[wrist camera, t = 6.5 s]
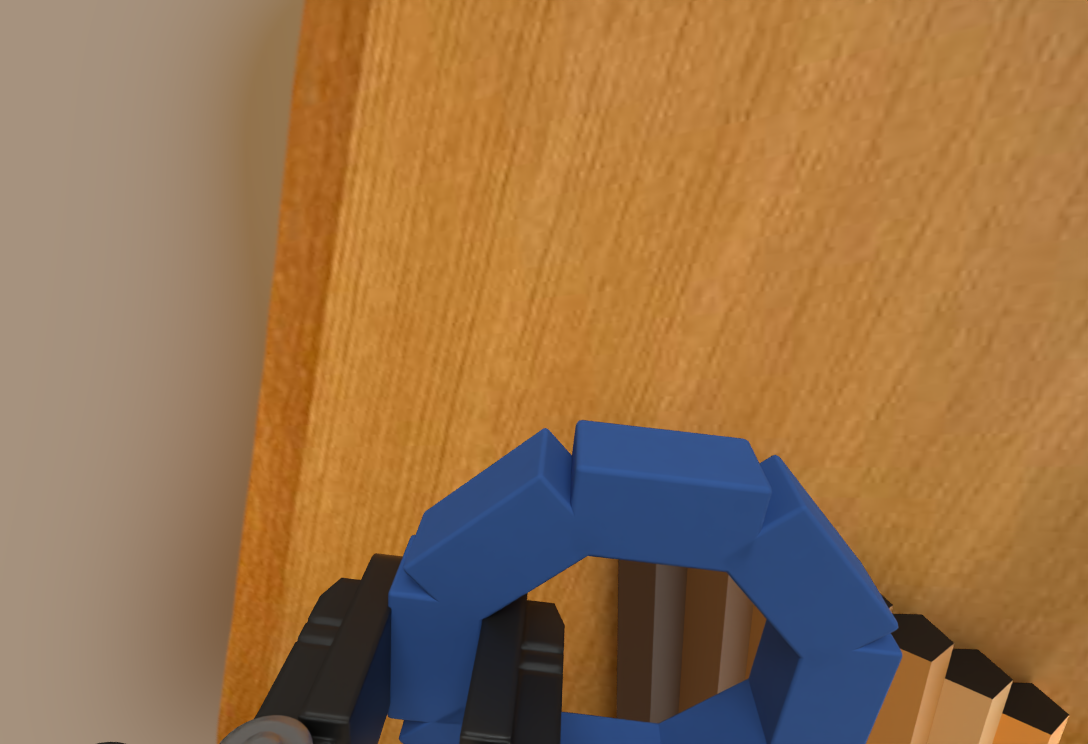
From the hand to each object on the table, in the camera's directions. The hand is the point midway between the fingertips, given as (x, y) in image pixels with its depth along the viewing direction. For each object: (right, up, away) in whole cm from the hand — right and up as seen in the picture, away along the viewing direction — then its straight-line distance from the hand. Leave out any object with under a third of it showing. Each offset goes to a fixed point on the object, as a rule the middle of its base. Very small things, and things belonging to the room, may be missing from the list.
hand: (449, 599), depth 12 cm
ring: (+3, 0, 0) cm, 3 cm away
